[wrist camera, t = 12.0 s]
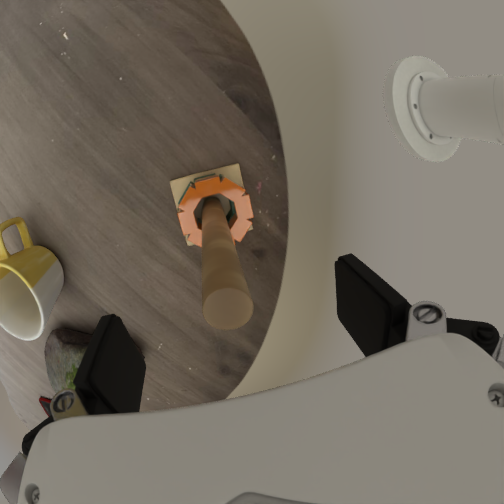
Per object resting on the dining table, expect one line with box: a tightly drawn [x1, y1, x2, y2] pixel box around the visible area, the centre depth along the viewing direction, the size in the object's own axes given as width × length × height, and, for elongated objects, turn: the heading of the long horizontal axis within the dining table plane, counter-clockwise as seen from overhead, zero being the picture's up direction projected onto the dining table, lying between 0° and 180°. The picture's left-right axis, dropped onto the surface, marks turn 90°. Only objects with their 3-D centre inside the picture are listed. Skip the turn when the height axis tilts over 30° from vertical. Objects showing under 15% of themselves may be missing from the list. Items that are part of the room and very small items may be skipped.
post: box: [170, 163, 254, 330], centre depth 21 cm, size 8×8×22 cm
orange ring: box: [177, 174, 254, 248], centre depth 27 cm, size 7×7×2 cm
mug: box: [0, 217, 64, 340], centre depth 25 cm, size 14×10×10 cm
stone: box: [45, 329, 145, 393], centre depth 32 cm, size 19×14×10 cm
